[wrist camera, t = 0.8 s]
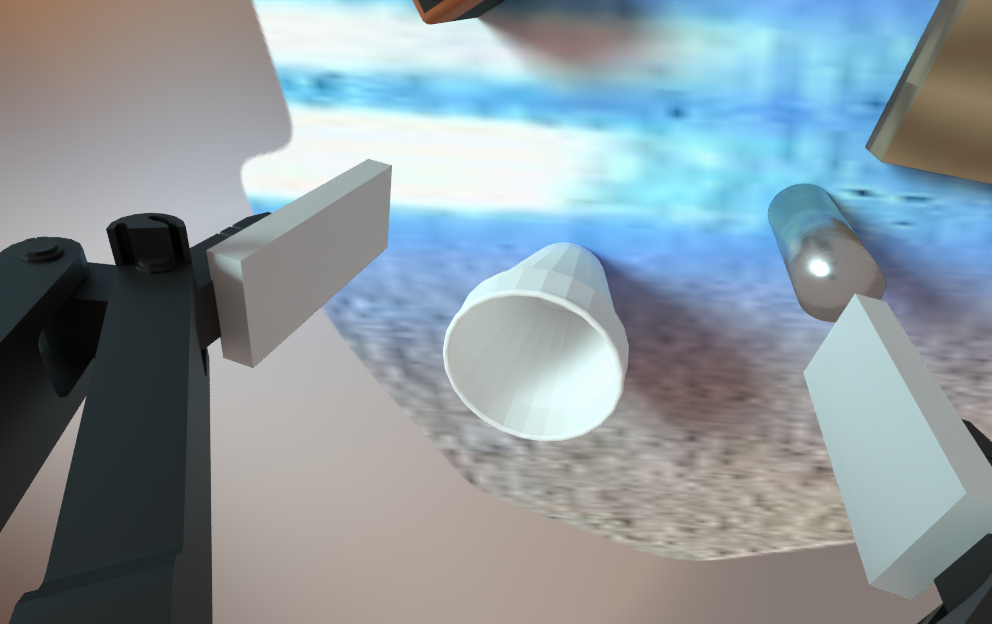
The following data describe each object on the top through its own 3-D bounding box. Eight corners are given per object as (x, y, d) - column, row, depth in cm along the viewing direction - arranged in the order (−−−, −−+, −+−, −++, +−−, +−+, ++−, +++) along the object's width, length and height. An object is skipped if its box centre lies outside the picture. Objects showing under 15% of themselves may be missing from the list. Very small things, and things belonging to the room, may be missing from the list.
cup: (473, 282, 49) (411, 370, 38) (552, 180, 42) (505, 250, 31) (577, 361, 50) (548, 469, 39) (671, 274, 43) (668, 374, 32)
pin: (781, 178, 37) (817, 246, 27) (842, 190, 37) (901, 266, 27) (758, 230, 39) (784, 310, 30) (815, 243, 39) (861, 330, 29)
